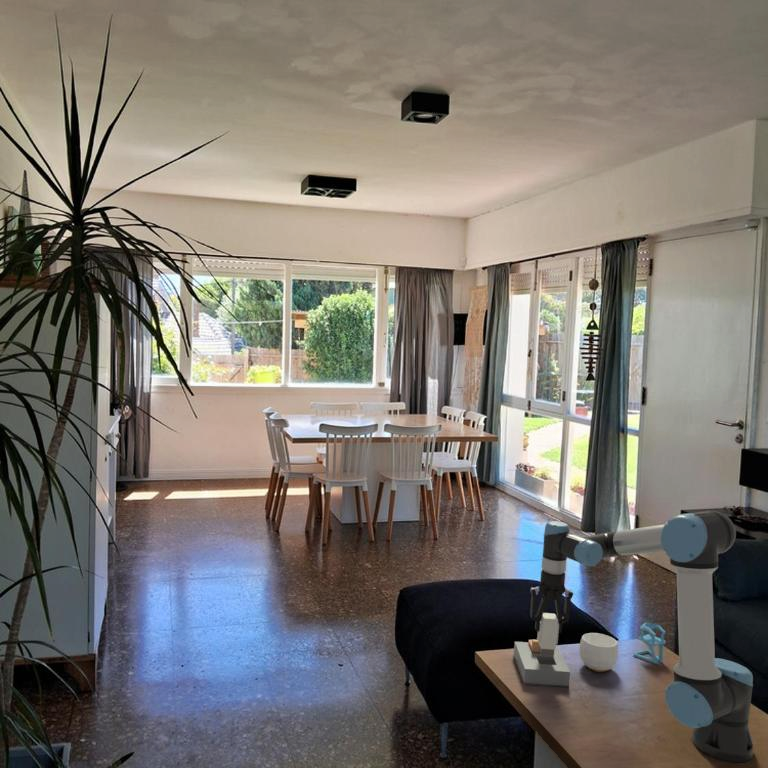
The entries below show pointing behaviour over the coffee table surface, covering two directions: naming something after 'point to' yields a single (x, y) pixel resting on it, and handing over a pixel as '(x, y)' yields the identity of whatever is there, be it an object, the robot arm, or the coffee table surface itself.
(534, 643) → the block
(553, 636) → the white rectangular block
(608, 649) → the cup
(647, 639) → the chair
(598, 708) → the coffee table surface
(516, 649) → the socket plate
